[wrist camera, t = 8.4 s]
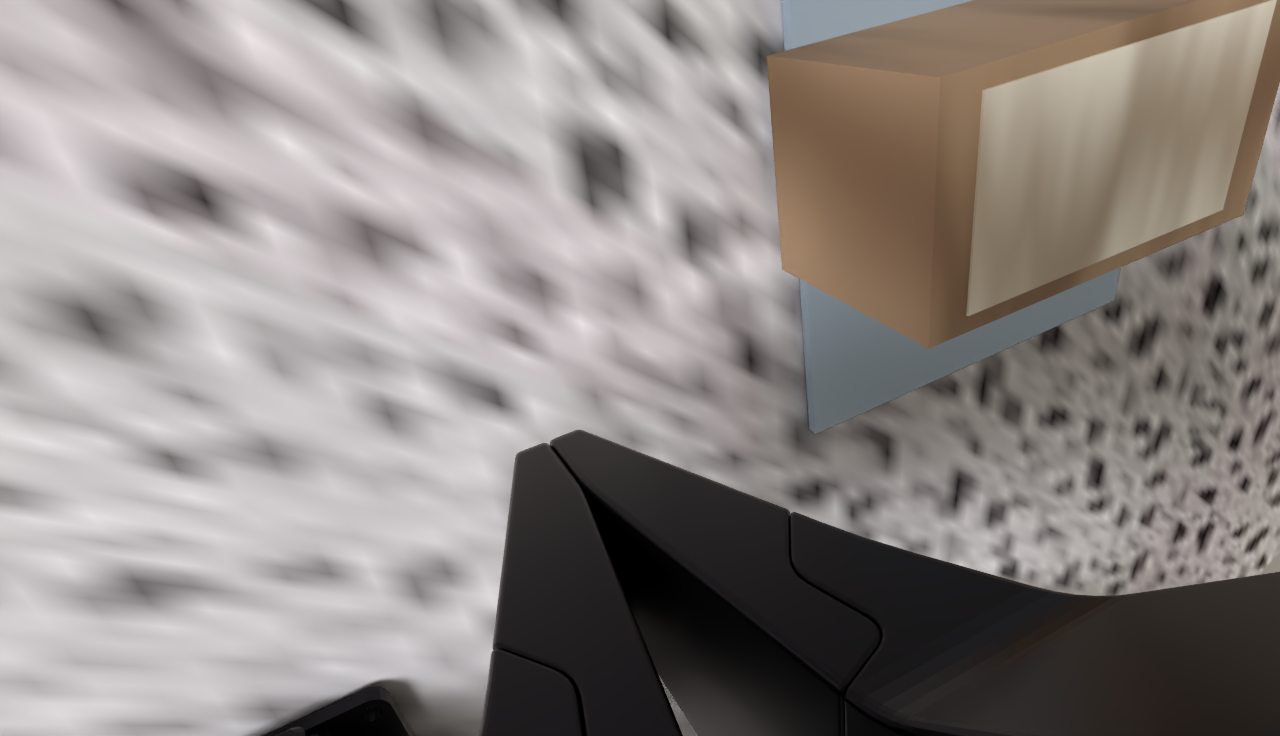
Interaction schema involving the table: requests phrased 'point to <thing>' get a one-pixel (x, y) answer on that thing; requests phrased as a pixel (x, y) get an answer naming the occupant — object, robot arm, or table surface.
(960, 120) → the brown rectangular block
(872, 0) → the pad
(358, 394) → the table surface
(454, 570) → the table surface
